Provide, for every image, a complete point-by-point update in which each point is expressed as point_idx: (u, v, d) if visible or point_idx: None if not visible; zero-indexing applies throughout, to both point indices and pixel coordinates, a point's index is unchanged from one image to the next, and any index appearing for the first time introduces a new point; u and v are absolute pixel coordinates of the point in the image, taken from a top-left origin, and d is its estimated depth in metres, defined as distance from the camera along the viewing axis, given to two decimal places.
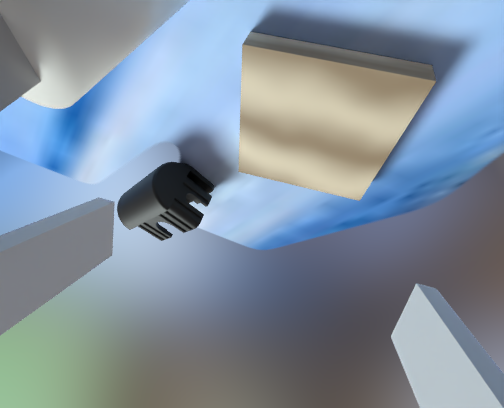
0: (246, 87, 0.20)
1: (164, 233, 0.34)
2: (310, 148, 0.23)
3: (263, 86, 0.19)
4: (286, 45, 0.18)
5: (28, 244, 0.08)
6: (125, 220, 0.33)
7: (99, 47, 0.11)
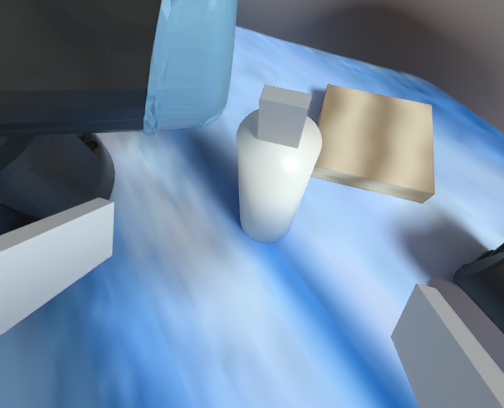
0: (340, 168, 0.27)
1: None
2: (385, 134, 0.29)
3: (337, 157, 0.28)
4: None
5: (28, 244, 0.08)
6: None
7: None
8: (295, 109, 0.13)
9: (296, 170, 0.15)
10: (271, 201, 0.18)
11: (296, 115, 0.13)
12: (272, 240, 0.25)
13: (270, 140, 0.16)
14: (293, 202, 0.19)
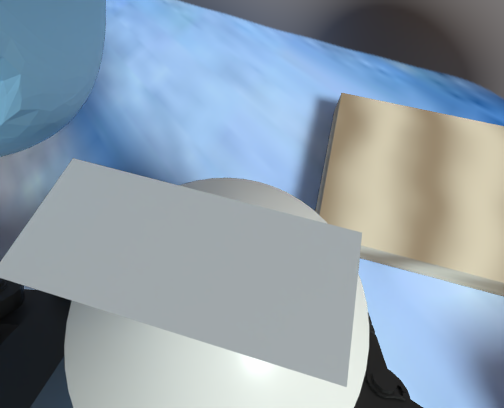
0: (366, 240, 0.16)
1: None
2: (438, 176, 0.18)
3: (362, 220, 0.16)
4: (319, 201, 0.18)
5: None
6: None
7: None
8: None
9: None
10: None
11: None
12: None
13: None
14: None
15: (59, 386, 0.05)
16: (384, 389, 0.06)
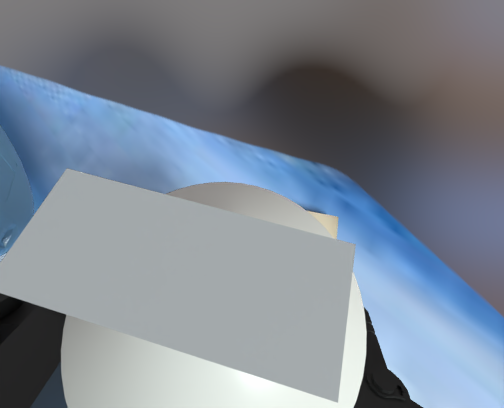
0: None
1: None
2: None
3: None
4: None
5: None
6: None
7: None
8: None
9: None
10: None
11: None
12: None
13: None
14: None
15: (59, 386, 0.05)
16: (384, 389, 0.06)
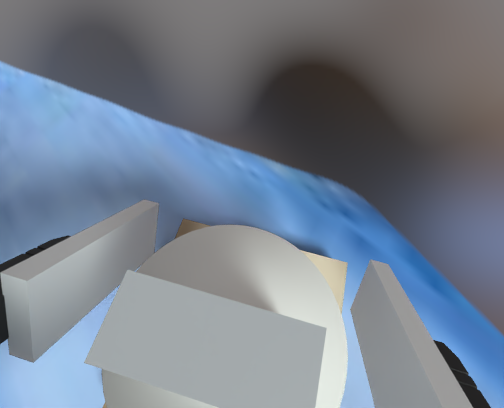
0: None
1: None
2: None
3: None
4: None
5: (99, 242, 0.09)
6: None
7: None
8: None
9: None
10: None
11: None
12: None
13: None
14: None
15: None
16: None
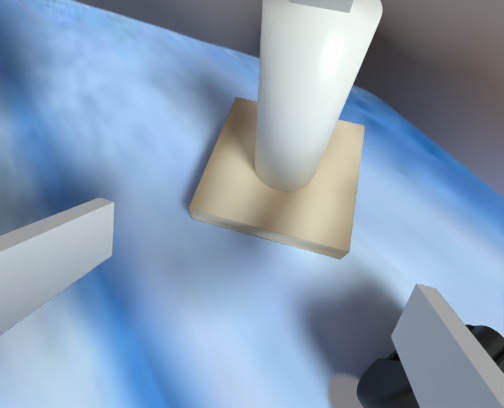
0: (226, 213, 0.20)
1: None
2: None
3: (227, 198, 0.21)
4: None
5: (28, 244, 0.08)
6: None
7: None
8: None
9: (350, 35, 0.10)
10: (305, 105, 0.13)
11: None
12: (294, 187, 0.21)
13: (311, 0, 0.11)
14: (331, 114, 0.14)
15: None
16: None
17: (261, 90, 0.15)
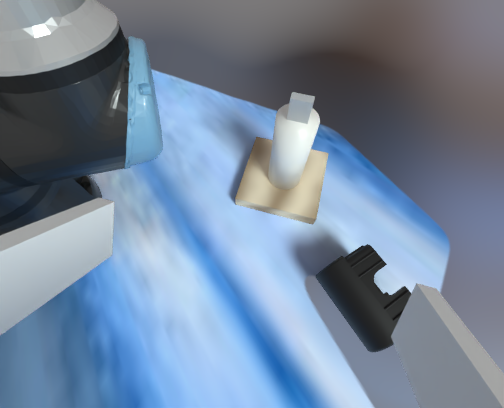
0: (254, 200, 0.40)
1: (399, 291, 0.31)
2: None
3: (254, 193, 0.40)
4: None
5: (28, 244, 0.08)
6: (386, 331, 0.28)
7: None
8: (307, 103, 0.28)
9: (306, 134, 0.30)
10: (292, 154, 0.33)
11: (307, 106, 0.29)
12: (289, 187, 0.40)
13: (293, 119, 0.31)
14: (304, 156, 0.34)
15: None
16: None
17: (274, 146, 0.34)
